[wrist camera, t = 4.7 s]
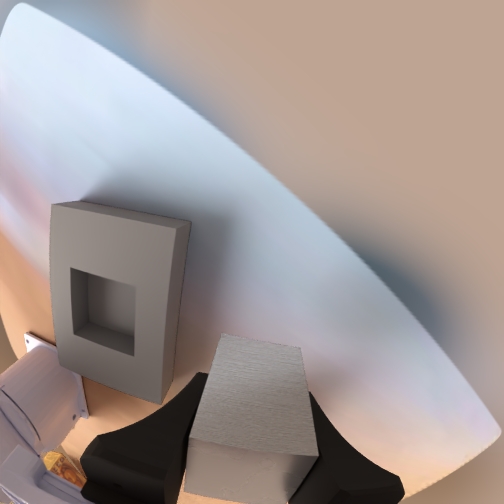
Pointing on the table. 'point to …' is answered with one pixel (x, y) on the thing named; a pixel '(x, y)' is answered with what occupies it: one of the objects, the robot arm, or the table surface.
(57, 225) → the bore block
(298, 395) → the square bit
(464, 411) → the table surface
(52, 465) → the candy box
